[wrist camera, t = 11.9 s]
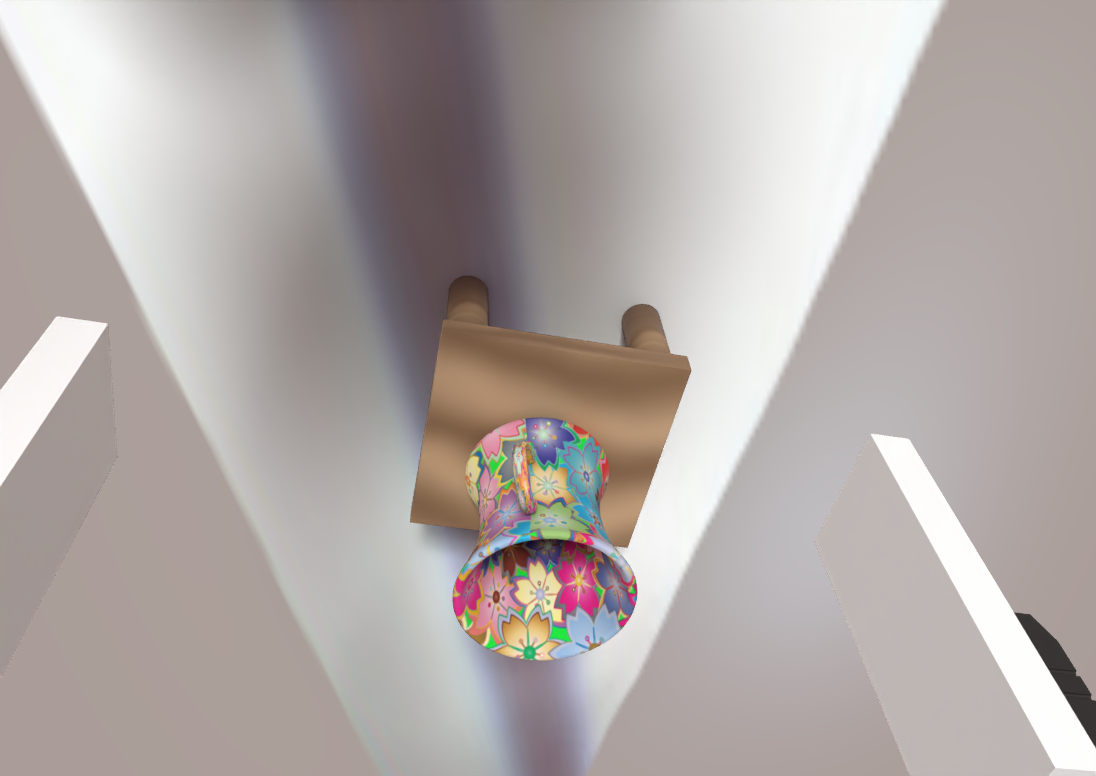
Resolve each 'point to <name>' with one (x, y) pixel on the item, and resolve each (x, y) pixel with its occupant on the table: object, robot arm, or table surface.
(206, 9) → the table surface
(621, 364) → the stool
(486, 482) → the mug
